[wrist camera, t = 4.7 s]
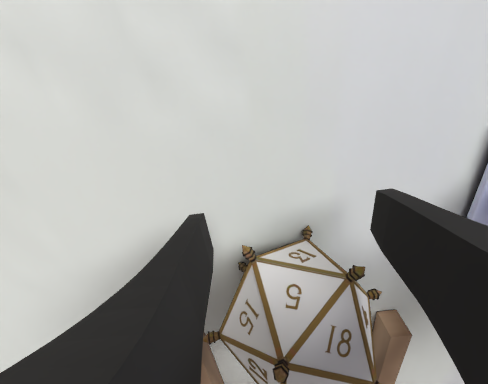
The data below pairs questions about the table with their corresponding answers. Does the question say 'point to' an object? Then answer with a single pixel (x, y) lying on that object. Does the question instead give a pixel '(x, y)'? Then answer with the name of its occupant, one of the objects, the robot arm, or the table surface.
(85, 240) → the table surface
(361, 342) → the game die
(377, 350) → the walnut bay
